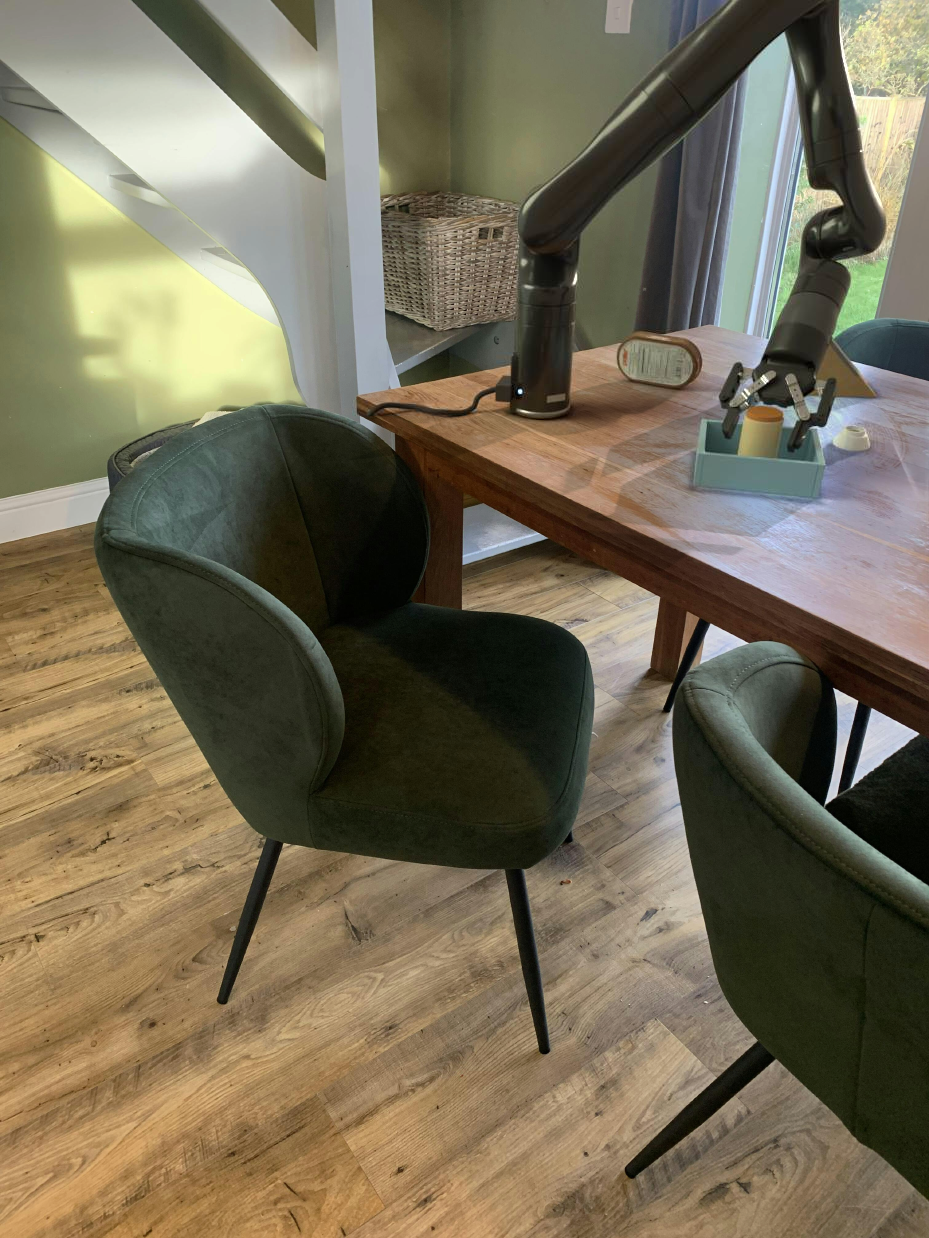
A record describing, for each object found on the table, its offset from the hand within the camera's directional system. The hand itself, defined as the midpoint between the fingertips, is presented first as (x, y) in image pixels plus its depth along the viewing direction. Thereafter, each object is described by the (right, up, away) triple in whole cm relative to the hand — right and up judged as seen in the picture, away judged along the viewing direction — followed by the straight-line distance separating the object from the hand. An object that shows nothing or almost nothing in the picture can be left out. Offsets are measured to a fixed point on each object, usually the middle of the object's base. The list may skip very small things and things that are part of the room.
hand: (757, 443), depth 116 cm
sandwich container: (+24, +17, +36) cm, 47 cm away
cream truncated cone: (+18, +2, +12) cm, 22 cm away
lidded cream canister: (0, -3, +3) cm, 5 cm away
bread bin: (0, -4, +3) cm, 5 cm away
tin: (-5, +18, +38) cm, 43 cm away
